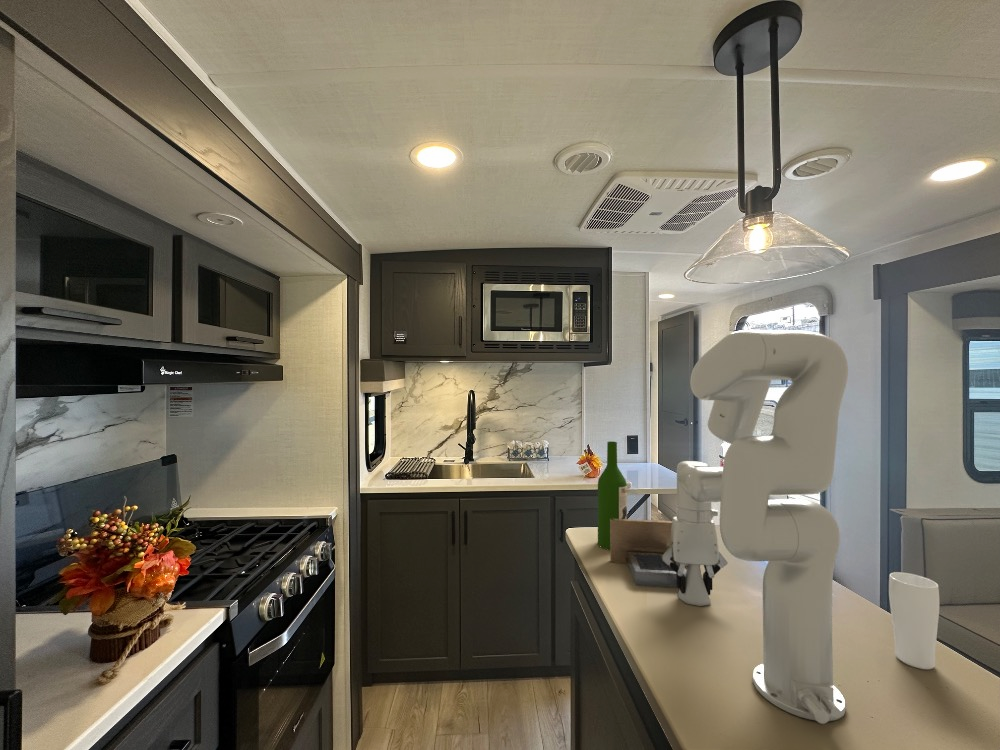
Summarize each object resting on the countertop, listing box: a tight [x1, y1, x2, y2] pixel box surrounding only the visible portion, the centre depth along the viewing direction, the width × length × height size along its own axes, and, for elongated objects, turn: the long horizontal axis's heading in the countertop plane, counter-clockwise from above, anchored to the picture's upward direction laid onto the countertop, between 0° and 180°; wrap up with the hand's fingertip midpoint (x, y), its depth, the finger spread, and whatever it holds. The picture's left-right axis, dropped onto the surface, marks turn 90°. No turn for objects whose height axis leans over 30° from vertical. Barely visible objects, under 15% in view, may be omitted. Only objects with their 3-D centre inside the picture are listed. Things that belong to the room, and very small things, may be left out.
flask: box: [677, 564, 712, 607], centre depth 104 cm, size 7×7×10 cm
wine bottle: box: [597, 441, 628, 550], centre depth 139 cm, size 9×9×32 cm
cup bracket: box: [609, 518, 688, 589], centre depth 118 cm, size 15×22×12 cm
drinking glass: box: [888, 571, 940, 670], centre depth 81 cm, size 7×7×15 cm
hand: (694, 590), depth 104 cm, fingers closed on flask, 4 cm apart
